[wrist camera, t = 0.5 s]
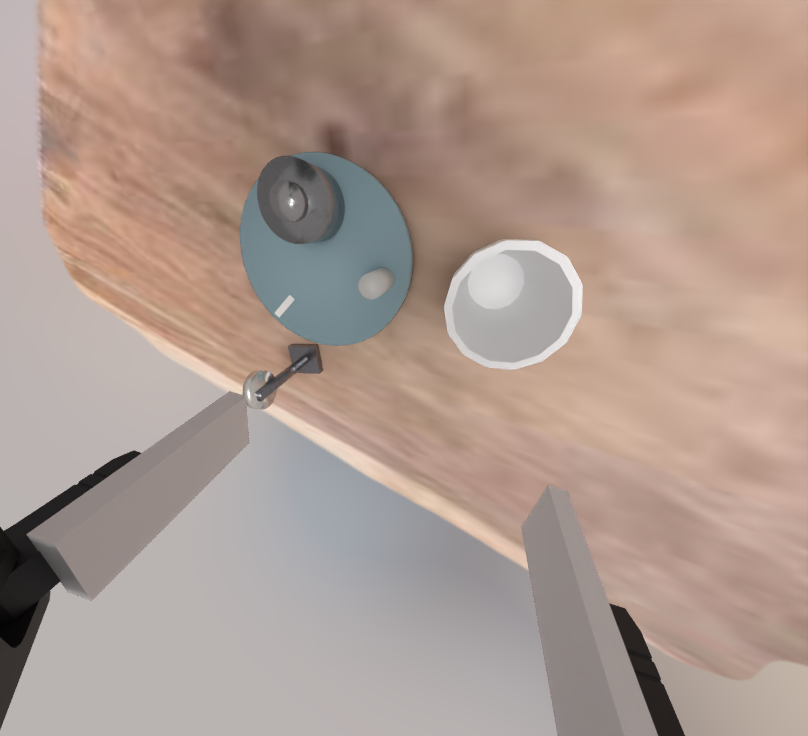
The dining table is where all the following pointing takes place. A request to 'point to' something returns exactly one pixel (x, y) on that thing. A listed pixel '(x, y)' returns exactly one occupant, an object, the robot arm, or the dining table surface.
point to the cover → (300, 201)
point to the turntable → (333, 262)
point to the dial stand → (280, 375)
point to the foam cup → (513, 303)
